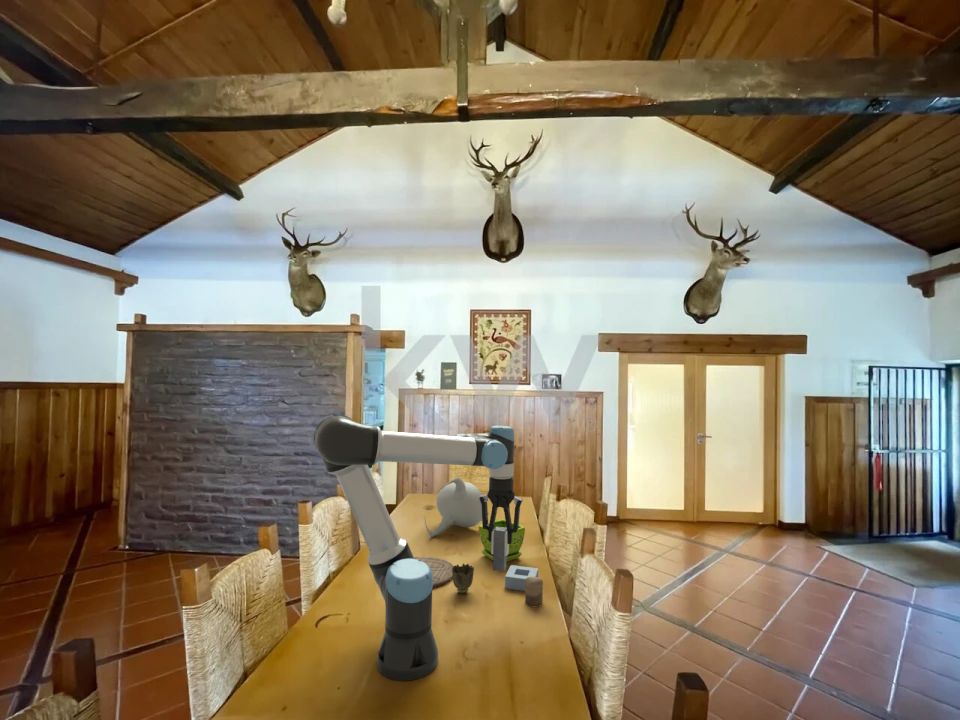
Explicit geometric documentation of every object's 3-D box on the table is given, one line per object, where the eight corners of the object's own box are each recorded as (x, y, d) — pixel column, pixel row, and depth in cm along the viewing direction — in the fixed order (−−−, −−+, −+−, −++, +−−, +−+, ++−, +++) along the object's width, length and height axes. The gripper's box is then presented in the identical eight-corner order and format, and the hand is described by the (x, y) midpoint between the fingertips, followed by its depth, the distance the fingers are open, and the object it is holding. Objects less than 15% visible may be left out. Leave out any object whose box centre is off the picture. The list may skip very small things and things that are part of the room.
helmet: (500, 488, 221) (454, 483, 195) (475, 545, 221) (426, 547, 194) (466, 466, 237) (419, 458, 210) (442, 519, 236) (393, 518, 209)
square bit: (503, 571, 139) (504, 531, 140) (493, 570, 140) (493, 530, 141) (506, 567, 143) (506, 527, 143) (495, 565, 143) (496, 526, 144)
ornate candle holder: (454, 598, 150) (454, 573, 150) (449, 588, 157) (449, 564, 157) (476, 596, 152) (476, 571, 152) (470, 586, 159) (471, 562, 159)
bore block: (534, 592, 155) (534, 580, 155) (504, 588, 158) (505, 576, 158) (538, 579, 165) (538, 568, 165) (510, 576, 167) (510, 565, 168)
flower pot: (503, 548, 194) (504, 518, 195) (526, 559, 183) (526, 527, 184) (477, 555, 186) (477, 524, 187) (498, 567, 175) (499, 533, 175)
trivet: (443, 594, 153) (443, 588, 153) (373, 586, 158) (373, 581, 158) (461, 564, 178) (461, 559, 178) (400, 558, 183) (400, 554, 183)
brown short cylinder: (541, 607, 145) (541, 585, 145) (523, 605, 146) (524, 582, 146) (543, 599, 150) (543, 577, 150) (526, 597, 152) (527, 575, 152)
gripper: (529, 475, 144) (528, 552, 143) (478, 472, 148) (477, 546, 147) (525, 481, 137) (524, 561, 136) (472, 476, 141) (470, 554, 140)
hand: (499, 553), depth 141 cm, fingers closed on square bit, 3 cm apart
